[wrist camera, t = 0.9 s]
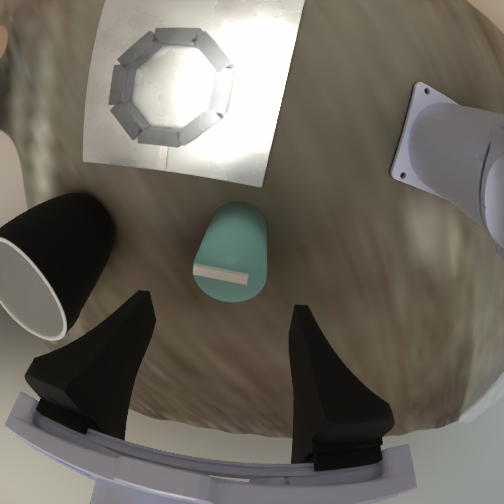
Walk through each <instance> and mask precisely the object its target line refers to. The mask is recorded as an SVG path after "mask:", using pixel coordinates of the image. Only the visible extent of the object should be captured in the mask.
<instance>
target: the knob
mask: <svg viewBox="0 0 504 504" xmlns="http://www.w3.org/2000/svg"><path fill="white" fill-rule="evenodd" d="M193 276H194V279H195V281H196V283H197V284H198V286H199V287H200V288H201V289H202V290H203V291H204V292H205V293H206V294H207V295H209V296H211V297H213V298H215V299H217V300H220V301H224V302H241V301H245V300H248V299H250V298H252V297H254V296H255V295H257V294H258V293H259V292H260V291H261V290H262V288H263V287H264V285H265V282H266V278H267V223H266V220H265V218H264V216H263V214H262V213H261V212H260V211H259V210H258V209H257V208H256V207H254V206H252V205H250V204H248V203H244V202H231V203H228V204H225V205H223V206H221V207H220V208H219V209H218V210H217V211H216V212H215V213H214V215H213V217H212V219H211V221H210V224H209V226H208V228H207V231H206V233H205V236H204V238H203V240H202V243H201V245H200V248H199V250H198V252H197V255H196V257H195V260H194V263H193Z"/></svg>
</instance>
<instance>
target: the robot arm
mask: <svg viewBox="0 0 504 504" xmlns="http://www.w3.org/2000/svg"><path fill="white" fill-rule="evenodd" d="M425 88H426V90H427V94H425V92H424V89H425ZM402 172H403V173H404V175H403V177H400V174H401V173H402ZM390 174H391V176H392V178H394V179H395V180H398V181H401V182H404V183H406V184H409V185H411V186H414V187H416V188H419V189H421V190H424V191H426V192H429V193H431V194H433V195H436V196H438V197H440V198H443V199H445V200H447V201H448V202H450V203H451V204H452V205H453V206H455V207H456V208H457V209H459V210H460V211H461V212H462V213H464V214H465V215H466V216H467V217H469V218H470V219H471V220H472V221H473V222H475V223H476V224H477V225H478V226H479V227H480V228H482V229H483V230H484V231H485V232H486V233H487V234H488V235H490V236H491V237H492V238H493V240H494V241H495V244H496V252H497V253H498V254H499V255H500V256H501V257H502V258H503V259H504V115H502V114H498V113H494V112H490V111H486V110H482V109H477V108H472V107H467V106H461V105H459V104H457V103H456V102H454V101H453V100H451V99H450V98H448V97H447V96H445V95H443V94H442V93H440V92H438V91H437V90H435V89H433V88H431V87H430V86H428V85H426V84H424V83H422V82H416V83H415V85H414V88H413V93H412V97H411V101H410V105H409V109H408V113H407V117H406V121H405V124H404V128H403V132H402V135H401V139H400V142H399V145H398V149H397V152H396V155H395V158H394V161H393V164H392V167H391V171H390ZM155 323H156V317H155V313H154V309H153V305H152V300H151V296H150V292H149V291H141V290H139V291H137V292H136V293H135V294H134V295H133V296H132V297H131V298H129V299H128V300H127V301H126V302H125V303H124V304H123V305H122V306H121V307H119V308H118V309H117V310H116V311H115V312H114V313H113V314H111V315H110V316H109V317H108V318H106V319H105V320H104V321H103V322H101V323H100V324H99V325H98V326H96V327H95V328H94V329H92V330H91V331H89V332H88V333H86V334H85V335H83V336H82V337H80V338H78V339H77V340H75V341H73V342H71V343H70V344H68V345H66V346H64V347H62V348H60V349H57V350H55V351H53V352H50V353H48V354H45V355H42V356H39V357H36V358H34V360H33V362H32V363H31V365H30V367H29V369H28V370H27V372H26V374H25V379H26V381H27V383H28V384H29V385H30V387H31V388H32V389H33V390H34V391H35V392H36V393H37V394H38V396H39V397H40V398H41V399H40V401H39V402H38V401H37V400H35V399H34V398H32V397H30V396H28V395H27V394H25V393H23V392H20V394H19V396H18V398H17V400H16V402H15V404H14V406H13V408H12V410H11V412H10V414H9V417H8V419H7V421H6V423H5V427H6V428H7V429H8V430H10V431H11V432H12V433H14V434H15V435H16V436H17V437H19V438H20V439H21V440H23V441H24V442H25V443H27V444H28V445H30V446H31V447H33V448H34V449H36V450H38V451H39V452H41V453H43V454H44V455H46V456H48V457H50V458H51V459H53V460H55V461H57V462H58V463H60V464H62V465H64V466H66V467H68V468H70V469H72V470H74V471H76V472H78V473H80V474H82V475H84V476H87V477H89V478H91V479H93V480H95V481H96V482H95V486H94V490H93V493H92V498H91V501H90V504H372V503H376V502H380V501H384V500H388V499H391V498H394V497H397V496H399V495H402V494H405V493H407V492H410V491H412V490H415V489H416V488H417V485H416V479H415V473H414V468H413V463H412V457H411V452H410V448H409V445H408V444H406V445H401V446H397V447H393V448H389V449H385V450H383V451H381V447H380V446H381V445H382V444H383V441H382V437H383V436H384V435H385V434H386V433H387V432H388V431H390V430H391V429H392V427H393V426H394V424H395V421H394V417H393V413H392V410H391V408H390V405H389V404H388V403H387V402H385V401H384V400H383V399H381V398H380V397H378V396H377V395H376V394H374V393H373V392H372V391H371V390H370V389H368V388H367V387H366V386H365V385H364V384H363V383H362V382H361V381H360V380H359V379H358V378H357V377H356V376H355V375H354V374H353V373H352V372H351V371H350V370H349V369H348V368H347V367H346V365H345V364H344V363H343V362H342V361H341V359H340V358H339V357H338V355H337V354H336V353H335V351H334V350H333V348H332V347H331V346H330V344H329V343H328V341H327V339H326V338H325V336H324V334H323V333H322V331H321V329H320V328H319V326H318V324H317V322H316V320H315V318H314V317H313V315H312V312H311V310H310V308H309V307H308V305H295V306H294V311H293V316H292V321H291V325H290V330H289V358H290V366H291V375H292V383H293V395H294V414H293V442H292V457H291V464H257V463H240V462H229V461H219V460H211V459H204V458H197V457H191V456H186V455H180V454H175V453H170V452H166V451H161V450H157V449H153V448H149V447H144V446H141V445H138V444H134V443H131V442H127V441H125V430H126V421H127V415H128V409H129V403H130V399H131V394H132V390H133V386H134V382H135V378H136V375H137V372H138V369H139V367H140V364H141V362H142V359H143V357H144V355H145V352H146V350H147V347H148V345H149V342H150V340H151V337H152V334H153V331H154V327H155ZM208 475H213V476H221V477H230V478H243V479H251V480H250V481H249V482H242V481H234V480H227V479H221V478H215V477H210V476H208Z"/></svg>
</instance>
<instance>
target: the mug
mask: <svg viewBox="0 0 504 504" xmlns="http://www.w3.org/2000/svg"><path fill="white" fill-rule="evenodd" d="M112 244H113V228H112V224H111V221H110V218H109V216H108V214H107V213H106V211H105V210H104V208H103V207H102V206H101V205H100V204H99V203H98V202H97V201H96V200H94V199H93V198H91V197H89V196H86V195H83V194H66V195H62V196H59V197H56V198H53V199H50V200H48V201H45V202H43V203H41V204H39V205H37V206H35V207H33V208H31V209H29V210H27V211H26V212H24V213H22V214H20V215H19V216H17V217H16V218H14V219H13V220H11V221H9V222H8V223H6V224H5V225H3V226H2V227H1V228H0V303H1V305H2V306H3V307H4V309H5V310H6V311H7V312H8V313H9V314H10V316H11V317H12V318H13V319H14V320H15V321H16V322H18V323H19V324H20V325H21V326H22V327H24V328H25V329H26V330H28V331H29V332H31V333H32V334H34V335H36V336H38V337H40V338H43V339H46V340H53V341H54V340H60V339H62V338H63V337H64V336H65V335H66V334H67V332H68V331H69V329H70V328H72V326H73V325H74V324H75V322H76V321H77V319H78V317H79V315H80V312H81V310H82V308H83V306H84V304H85V303H86V301H87V299H88V297H89V296H90V294H91V292H92V290H93V288H94V286H95V285H96V283H97V281H98V279H99V277H100V275H101V273H102V271H103V269H104V267H105V265H106V263H107V260H108V258H109V255H110V253H111V249H112Z"/></svg>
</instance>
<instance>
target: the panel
mask: <svg viewBox="0 0 504 504" xmlns="http://www.w3.org/2000/svg"><path fill="white" fill-rule="evenodd" d="M304 1H305V0H106V1H105V4H104V8H103V11H102V15H101V18H100V22H99V26H98V30H97V35H96V39H95V44H94V49H93V54H92V59H91V65H90V71H89V78H88V86H87V94H86V104H85V116H84V134H83V162H91V163H102V164H113V165H122V166H131V167H139V168H147V169H155V170H162V171H169V172H176V173H183V174H189V175H195V176H202V177H207V178H213V179H219V180H225V181H230V182H235V183H241V184H246V185H251V186H256V187H261V188H262V184H263V180H264V175H265V171H266V166H267V162H268V157H269V153H270V148H271V144H272V140H273V135H274V131H275V126H276V122H277V118H278V113H279V109H280V104H281V100H282V96H283V91H284V87H285V82H286V78H287V74H288V69H289V65H290V61H291V56H292V52H293V48H294V43H295V39H296V35H297V31H298V26H299V22H300V18H301V13H302V9H303V5H304Z"/></svg>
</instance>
